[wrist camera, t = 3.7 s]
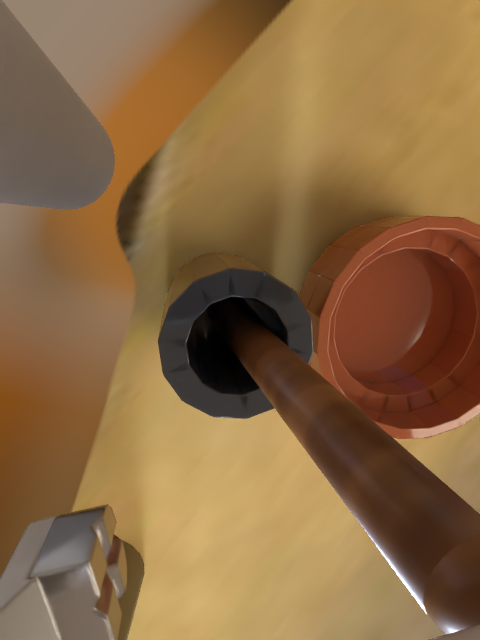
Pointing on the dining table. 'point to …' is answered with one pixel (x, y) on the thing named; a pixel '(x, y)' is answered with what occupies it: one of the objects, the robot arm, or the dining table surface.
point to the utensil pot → (209, 346)
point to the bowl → (401, 321)
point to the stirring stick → (369, 474)
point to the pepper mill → (130, 589)
